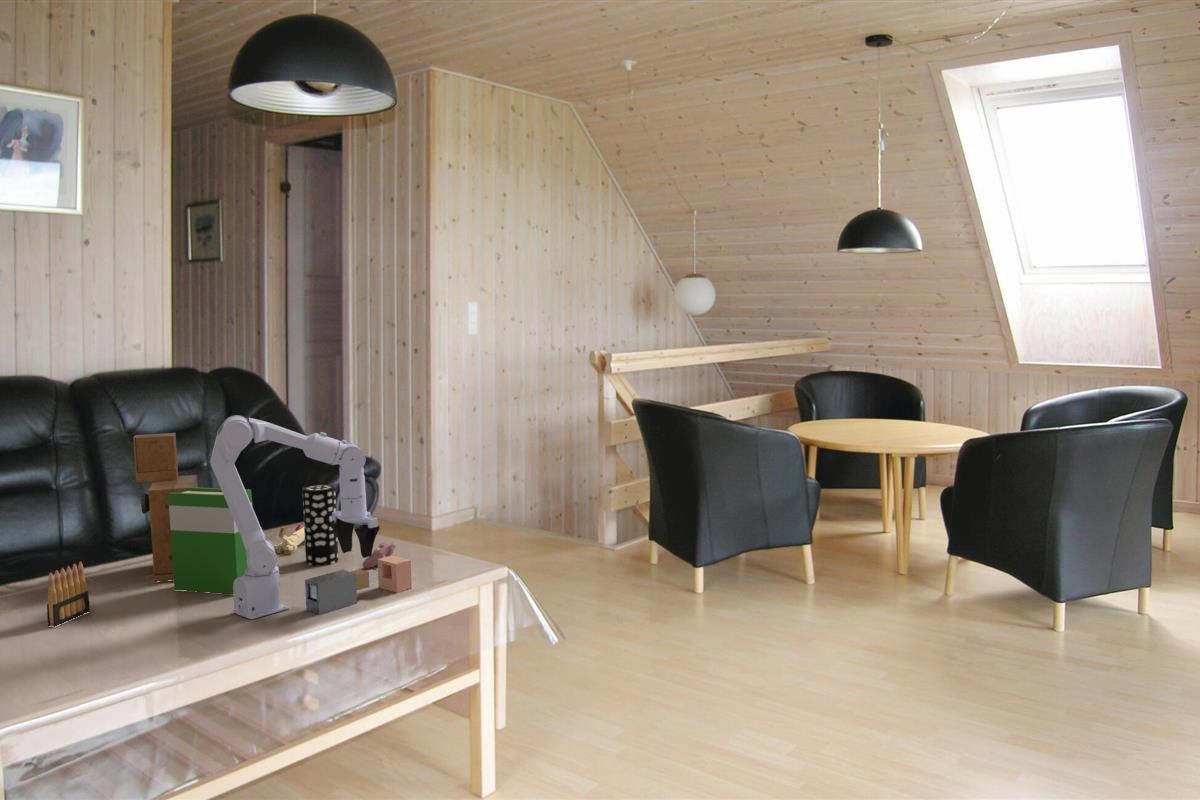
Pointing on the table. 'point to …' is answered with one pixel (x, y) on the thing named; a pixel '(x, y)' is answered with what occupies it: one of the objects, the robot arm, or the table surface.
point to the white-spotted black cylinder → (319, 525)
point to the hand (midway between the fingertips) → (356, 554)
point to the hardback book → (205, 541)
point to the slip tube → (361, 580)
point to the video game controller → (379, 554)
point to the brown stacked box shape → (159, 493)
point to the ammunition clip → (67, 595)
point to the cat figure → (290, 540)
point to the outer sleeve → (331, 591)
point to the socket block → (394, 573)
